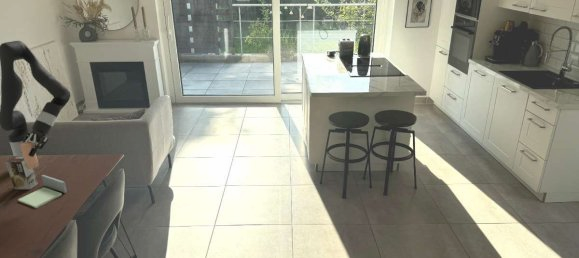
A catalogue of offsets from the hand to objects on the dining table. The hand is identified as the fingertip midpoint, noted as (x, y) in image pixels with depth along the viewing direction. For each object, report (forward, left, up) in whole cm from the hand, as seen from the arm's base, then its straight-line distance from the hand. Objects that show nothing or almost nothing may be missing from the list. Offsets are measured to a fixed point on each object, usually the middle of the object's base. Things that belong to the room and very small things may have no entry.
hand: (26, 154), depth 184 cm
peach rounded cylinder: (0, +1, -7) cm, 7 cm away
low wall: (-2, +9, -24) cm, 26 cm away
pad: (0, 0, -24) cm, 24 cm away
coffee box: (-18, +4, -24) cm, 31 cm away
